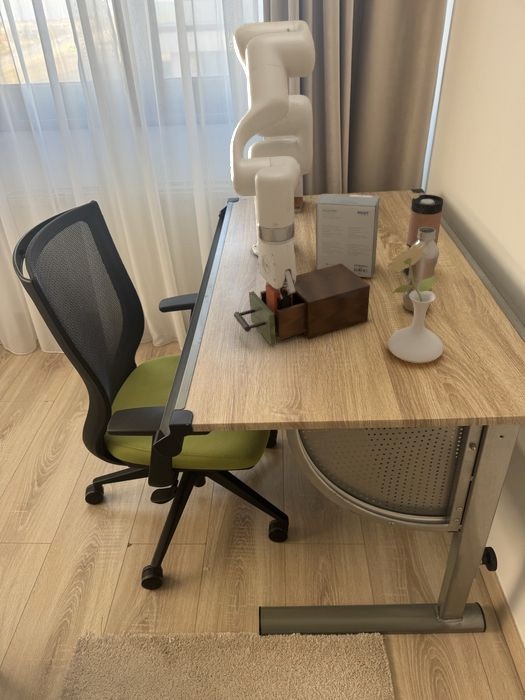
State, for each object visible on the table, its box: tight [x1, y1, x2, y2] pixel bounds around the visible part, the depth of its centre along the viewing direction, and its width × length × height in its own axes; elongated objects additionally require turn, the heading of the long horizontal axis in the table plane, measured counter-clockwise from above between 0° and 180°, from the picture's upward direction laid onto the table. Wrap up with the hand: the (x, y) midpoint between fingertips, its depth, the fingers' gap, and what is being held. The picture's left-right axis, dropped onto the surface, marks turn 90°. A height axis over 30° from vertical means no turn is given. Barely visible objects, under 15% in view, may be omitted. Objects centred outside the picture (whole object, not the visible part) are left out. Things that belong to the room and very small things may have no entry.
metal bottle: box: [402, 227, 440, 313], centre depth 118 cm, size 6×7×20 cm
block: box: [265, 282, 292, 314], centre depth 114 cm, size 4×4×6 cm
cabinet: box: [294, 264, 371, 340], centre depth 120 cm, size 16×13×10 cm
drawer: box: [233, 289, 307, 346], centre depth 116 cm, size 19×11×8 cm, turn 113°
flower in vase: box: [386, 243, 444, 364], centre depth 102 cm, size 13×11×25 cm
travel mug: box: [404, 194, 444, 276], centre depth 132 cm, size 8×8×20 cm
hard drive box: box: [315, 193, 381, 278], centre depth 136 cm, size 16×8×20 cm, turn 71°
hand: (279, 306), depth 115 cm, fingers closed on block, 4 cm apart
